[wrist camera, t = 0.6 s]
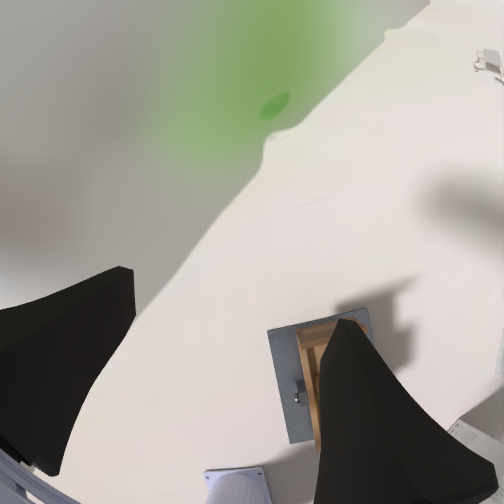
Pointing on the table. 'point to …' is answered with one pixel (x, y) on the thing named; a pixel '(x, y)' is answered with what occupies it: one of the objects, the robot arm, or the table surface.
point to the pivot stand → (299, 374)
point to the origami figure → (491, 61)
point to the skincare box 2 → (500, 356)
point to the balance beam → (316, 364)
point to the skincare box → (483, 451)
